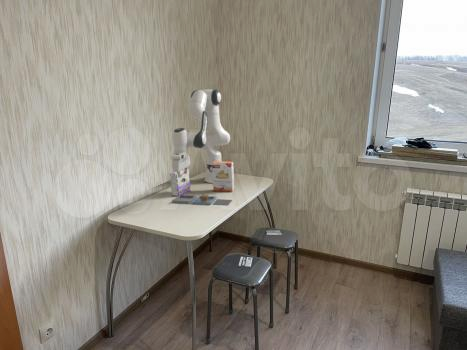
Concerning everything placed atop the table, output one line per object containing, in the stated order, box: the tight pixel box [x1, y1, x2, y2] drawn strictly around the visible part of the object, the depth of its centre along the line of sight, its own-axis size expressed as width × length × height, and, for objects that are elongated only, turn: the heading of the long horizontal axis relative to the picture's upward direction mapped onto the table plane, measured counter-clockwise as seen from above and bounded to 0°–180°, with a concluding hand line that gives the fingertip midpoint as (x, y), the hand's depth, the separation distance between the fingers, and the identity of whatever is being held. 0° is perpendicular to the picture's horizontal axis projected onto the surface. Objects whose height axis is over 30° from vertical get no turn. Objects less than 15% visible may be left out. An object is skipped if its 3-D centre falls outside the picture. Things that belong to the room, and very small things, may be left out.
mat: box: [212, 198, 233, 206], centre depth 221 cm, size 10×10×1 cm
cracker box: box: [212, 160, 235, 193], centre depth 245 cm, size 14×6×21 cm, turn 76°
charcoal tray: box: [172, 194, 198, 205], centre depth 228 cm, size 12×12×2 cm
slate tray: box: [192, 195, 217, 206], centre depth 224 cm, size 12×12×2 cm
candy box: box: [169, 168, 191, 197], centre depth 243 cm, size 14×6×16 cm, turn 149°
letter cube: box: [200, 193, 210, 202], centre depth 224 cm, size 4×4×4 cm
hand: (182, 175), depth 224 cm, fingers open, 8 cm apart
